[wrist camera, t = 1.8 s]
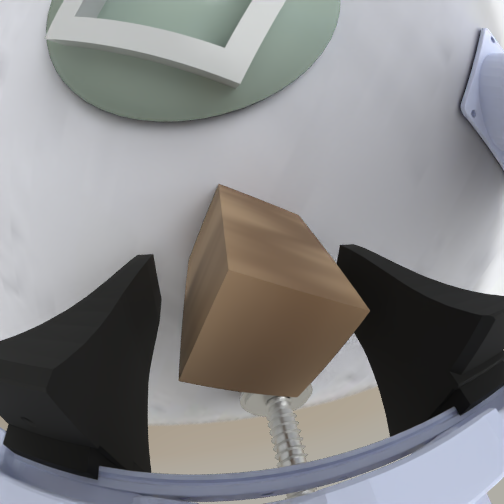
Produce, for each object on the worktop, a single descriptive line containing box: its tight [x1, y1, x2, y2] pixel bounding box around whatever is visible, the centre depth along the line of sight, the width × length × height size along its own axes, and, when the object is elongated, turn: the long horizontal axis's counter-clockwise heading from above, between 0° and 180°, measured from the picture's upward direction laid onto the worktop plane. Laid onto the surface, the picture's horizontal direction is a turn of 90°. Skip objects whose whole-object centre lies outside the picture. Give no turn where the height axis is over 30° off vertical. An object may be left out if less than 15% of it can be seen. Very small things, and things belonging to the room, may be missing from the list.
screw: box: [240, 383, 317, 500], centre depth 13 cm, size 13×5×5 cm
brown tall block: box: [179, 184, 370, 397], centre depth 10 cm, size 4×4×7 cm
